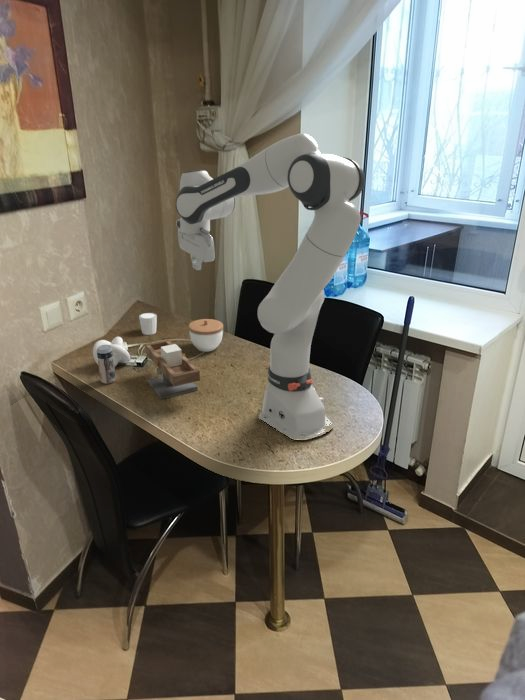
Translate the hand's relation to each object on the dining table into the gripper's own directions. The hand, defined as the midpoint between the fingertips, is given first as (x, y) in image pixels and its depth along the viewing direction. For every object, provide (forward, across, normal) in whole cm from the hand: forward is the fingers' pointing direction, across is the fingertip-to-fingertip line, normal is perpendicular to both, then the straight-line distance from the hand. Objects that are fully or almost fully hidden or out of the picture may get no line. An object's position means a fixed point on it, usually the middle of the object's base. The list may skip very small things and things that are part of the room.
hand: (196, 269), depth 159 cm
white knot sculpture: (+34, +14, +27) cm, 46 cm away
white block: (+25, -11, +14) cm, 31 cm away
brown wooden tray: (+34, -10, +14) cm, 38 cm away
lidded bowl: (+34, +12, -8) cm, 37 cm away
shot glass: (+34, +36, +6) cm, 50 cm away
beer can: (+34, +3, +31) cm, 46 cm away
